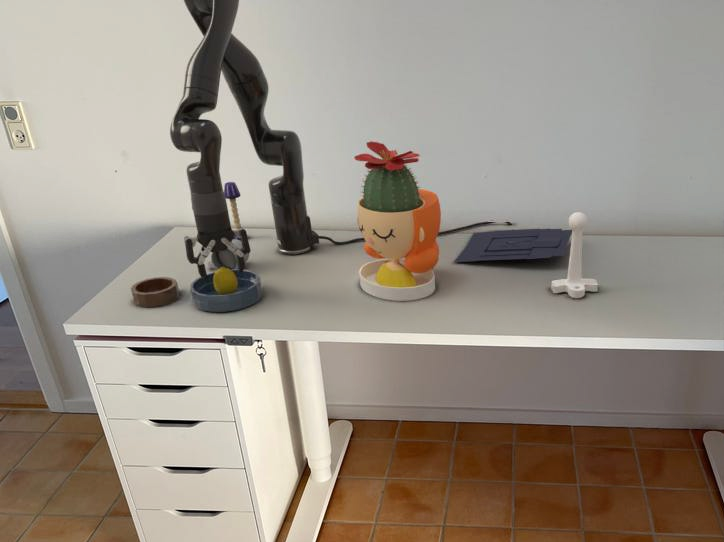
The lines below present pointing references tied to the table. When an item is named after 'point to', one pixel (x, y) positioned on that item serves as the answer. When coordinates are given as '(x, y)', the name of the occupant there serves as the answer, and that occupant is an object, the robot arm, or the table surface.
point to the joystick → (575, 263)
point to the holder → (155, 292)
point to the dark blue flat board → (515, 244)
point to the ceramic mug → (226, 257)
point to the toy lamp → (233, 203)
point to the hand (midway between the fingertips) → (223, 274)
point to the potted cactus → (397, 228)
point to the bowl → (214, 302)
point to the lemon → (225, 281)
